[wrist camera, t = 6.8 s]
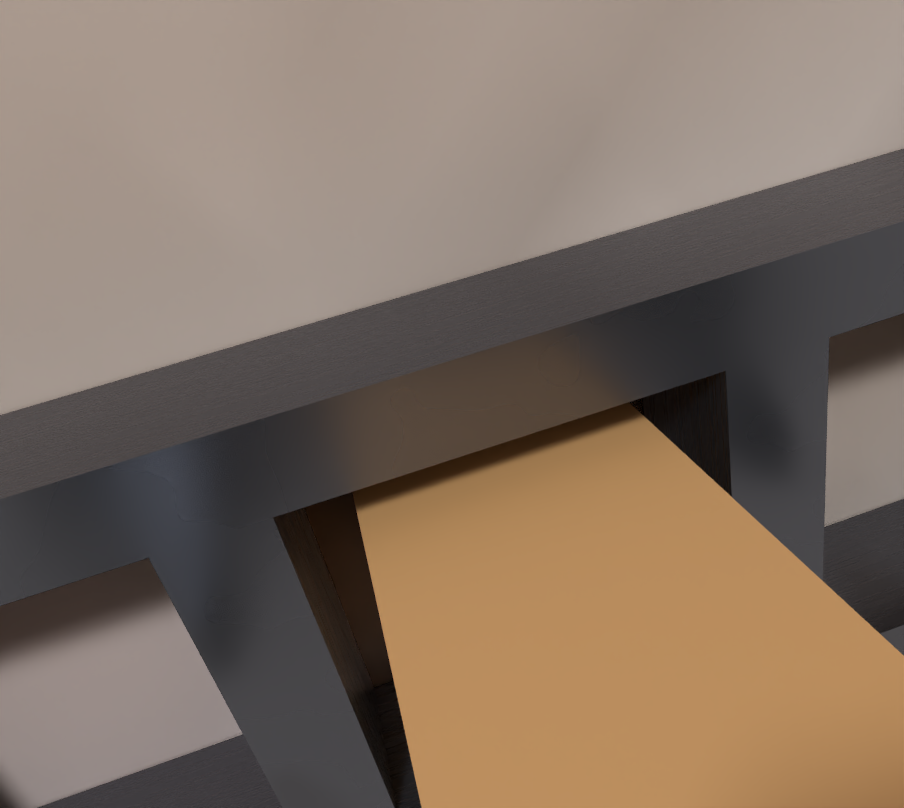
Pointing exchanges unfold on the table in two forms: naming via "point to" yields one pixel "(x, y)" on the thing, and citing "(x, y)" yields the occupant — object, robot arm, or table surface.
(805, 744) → the orange peg
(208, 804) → the rail
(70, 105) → the table surface
